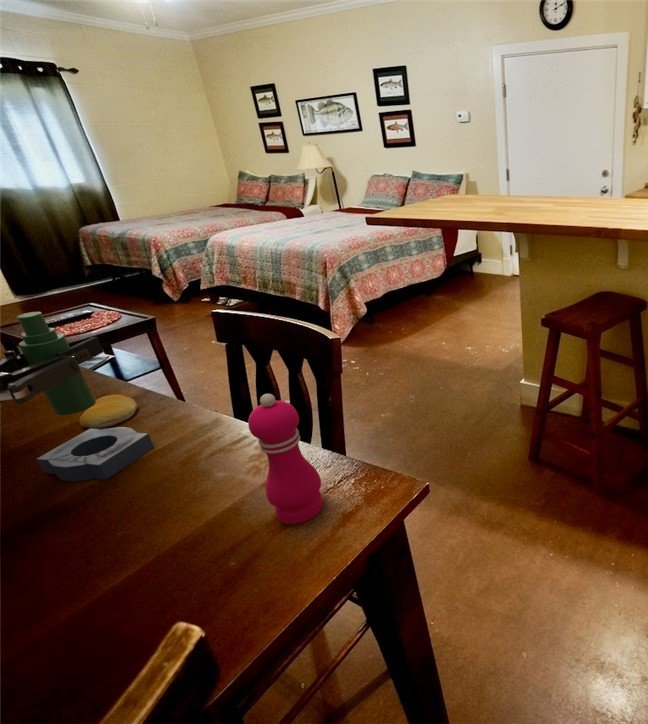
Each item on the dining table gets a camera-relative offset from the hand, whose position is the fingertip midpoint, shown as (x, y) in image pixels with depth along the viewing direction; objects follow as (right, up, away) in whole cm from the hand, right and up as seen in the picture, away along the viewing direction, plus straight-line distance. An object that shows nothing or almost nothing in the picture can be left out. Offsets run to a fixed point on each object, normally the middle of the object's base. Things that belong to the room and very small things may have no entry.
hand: (80, 344), depth 78 cm
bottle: (0, -10, -1) cm, 10 cm away
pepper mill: (+40, -25, -7) cm, 48 cm away
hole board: (-1, -20, +5) cm, 21 cm away
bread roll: (-10, -14, +17) cm, 25 cm away
